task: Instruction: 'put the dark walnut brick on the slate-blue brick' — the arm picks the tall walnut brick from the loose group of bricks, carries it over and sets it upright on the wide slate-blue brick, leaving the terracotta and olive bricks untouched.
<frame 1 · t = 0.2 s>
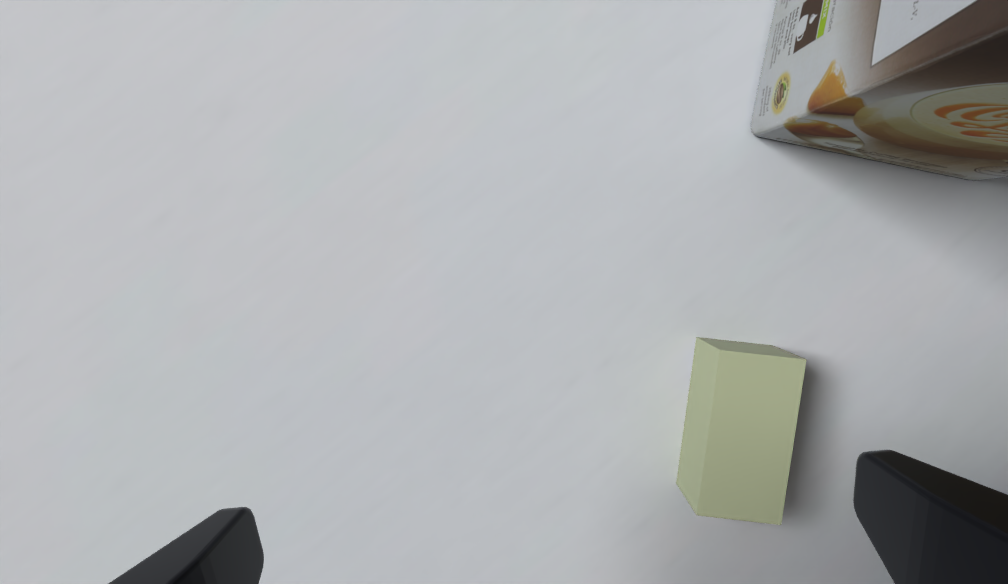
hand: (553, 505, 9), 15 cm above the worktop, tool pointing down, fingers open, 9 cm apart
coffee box: (878, 80, 23), on the worktop
olive brick: (722, 414, 24), on the worktop
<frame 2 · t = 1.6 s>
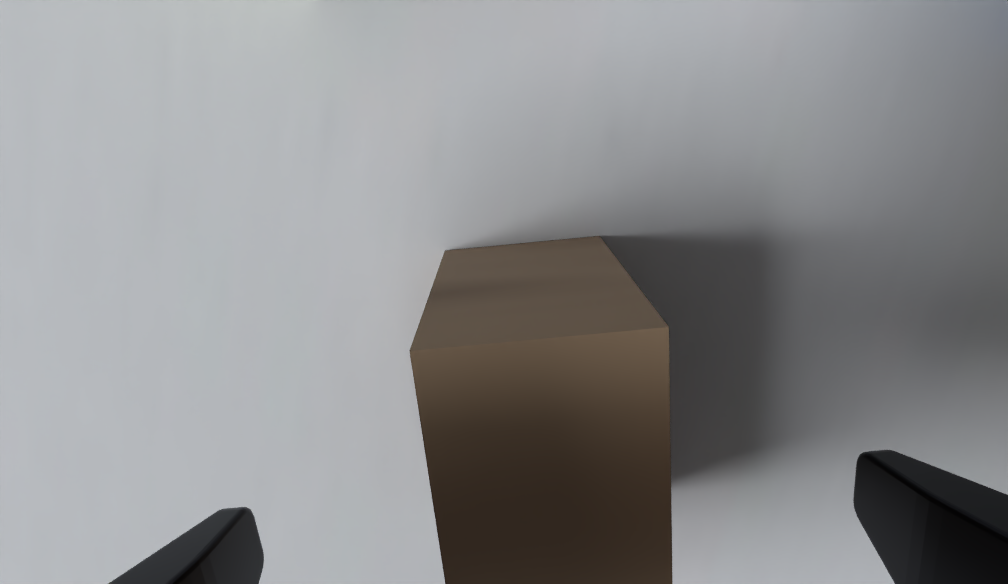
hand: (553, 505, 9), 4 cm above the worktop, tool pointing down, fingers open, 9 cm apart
walnut brick: (534, 382, 13), on the worktop
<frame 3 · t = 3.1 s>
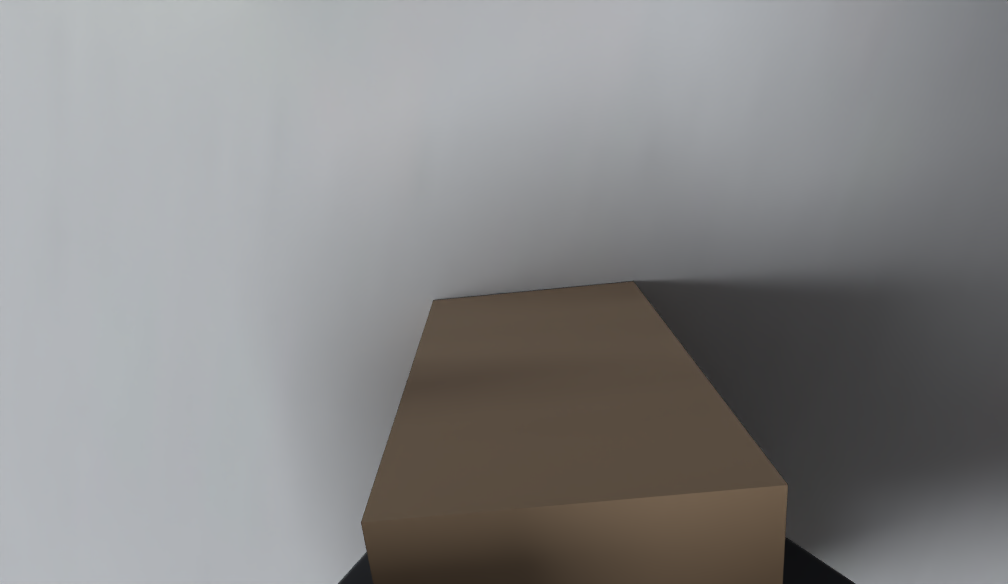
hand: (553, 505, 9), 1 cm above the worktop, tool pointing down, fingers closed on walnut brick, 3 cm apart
walnut brick: (547, 464, 10), on the worktop, touching gripper
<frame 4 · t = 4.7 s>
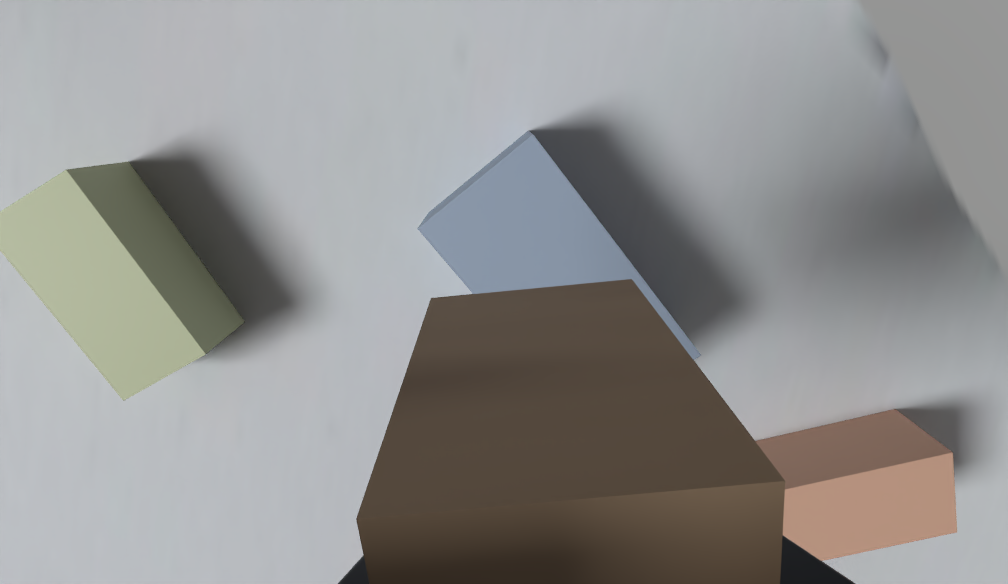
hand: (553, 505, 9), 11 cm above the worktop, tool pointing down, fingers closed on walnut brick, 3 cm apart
terracotta brick: (812, 461, 22), on the worktop
walnut brick: (546, 462, 10), point 10 cm above the worktop, touching gripper
slate brick: (554, 267, 20), on the worktop
olive brick: (154, 265, 20), on the worktop
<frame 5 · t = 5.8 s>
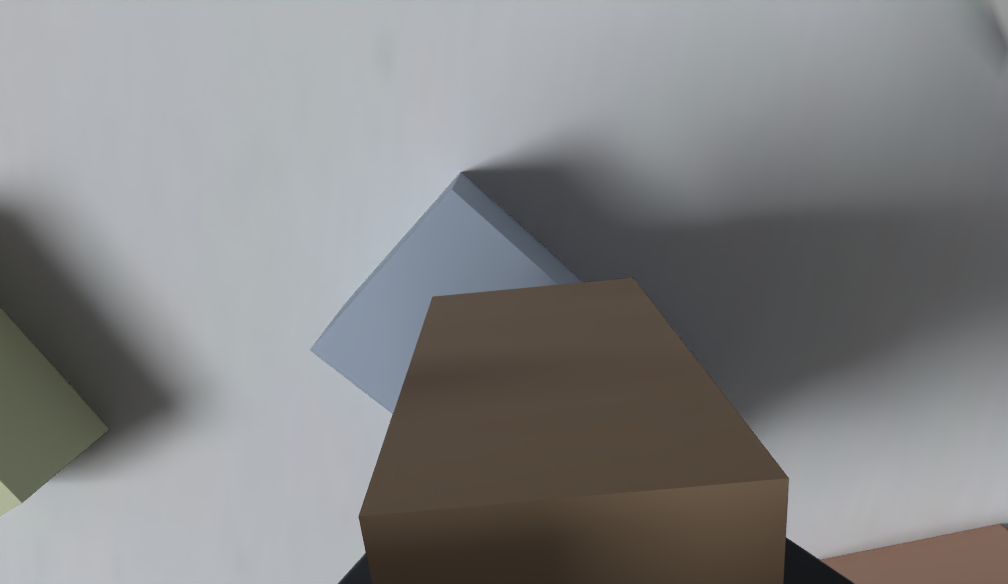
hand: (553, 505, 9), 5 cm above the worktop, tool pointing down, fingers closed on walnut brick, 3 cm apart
walnut brick: (547, 461, 10), point 4 cm above the worktop, touching gripper
slate brick: (532, 347, 14), on the worktop
when the fingers open (5 cm above the worktop, at t = 6.5 s): walnut brick drops 1 cm, resting on slate brick.
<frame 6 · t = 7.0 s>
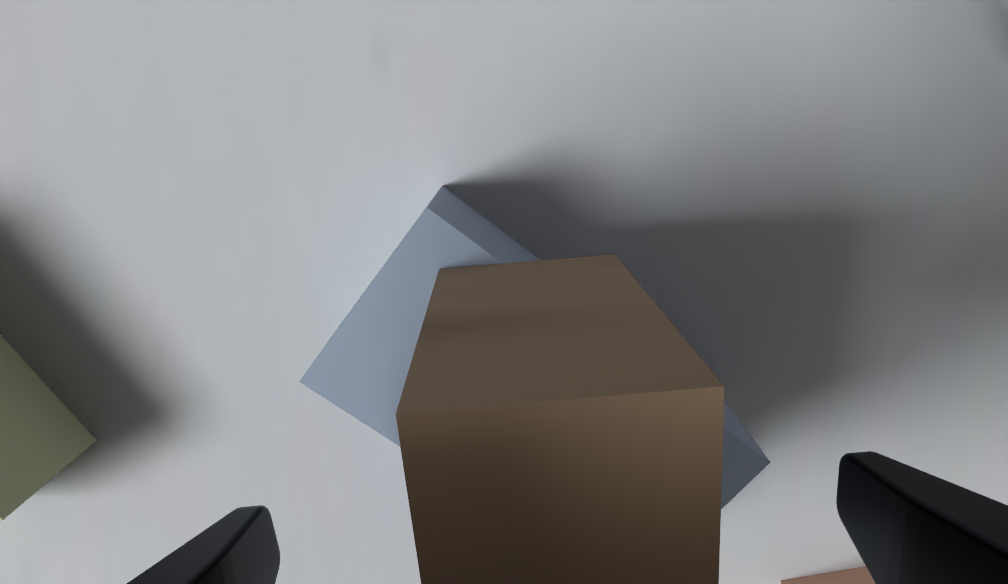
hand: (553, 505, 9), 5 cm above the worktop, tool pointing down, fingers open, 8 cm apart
walnut brick: (538, 417, 11), point 3 cm above the worktop, touching slate brick
slate brick: (532, 357, 14), on the worktop, touching walnut brick
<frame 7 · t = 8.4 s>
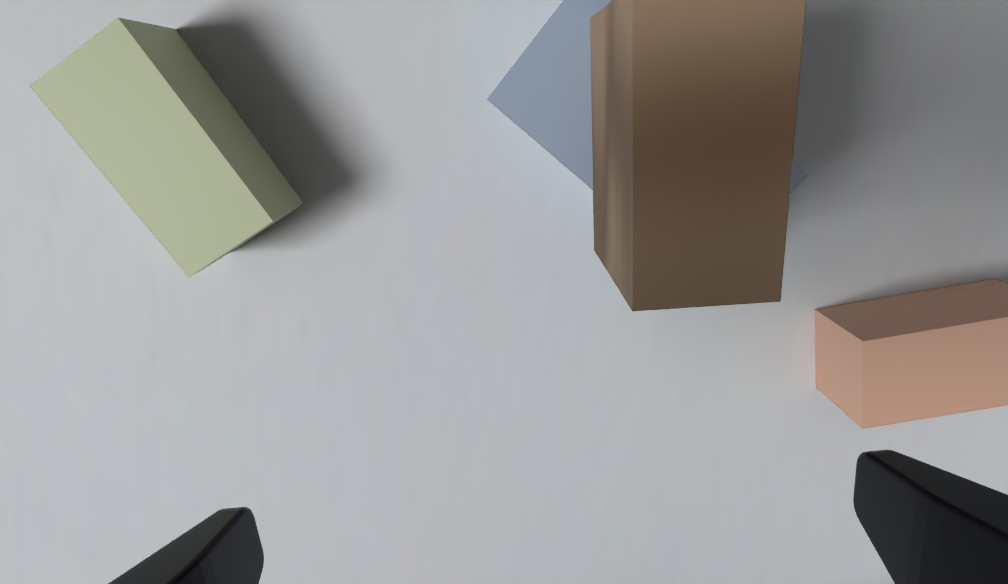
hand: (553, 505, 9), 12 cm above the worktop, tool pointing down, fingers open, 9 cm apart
terracotta brick: (898, 332, 21), on the worktop
walnut brick: (648, 137, 16), point 3 cm above the worktop, touching slate brick
slate brick: (627, 131, 19), on the worktop, touching walnut brick
olive brick: (207, 146, 19), on the worktop
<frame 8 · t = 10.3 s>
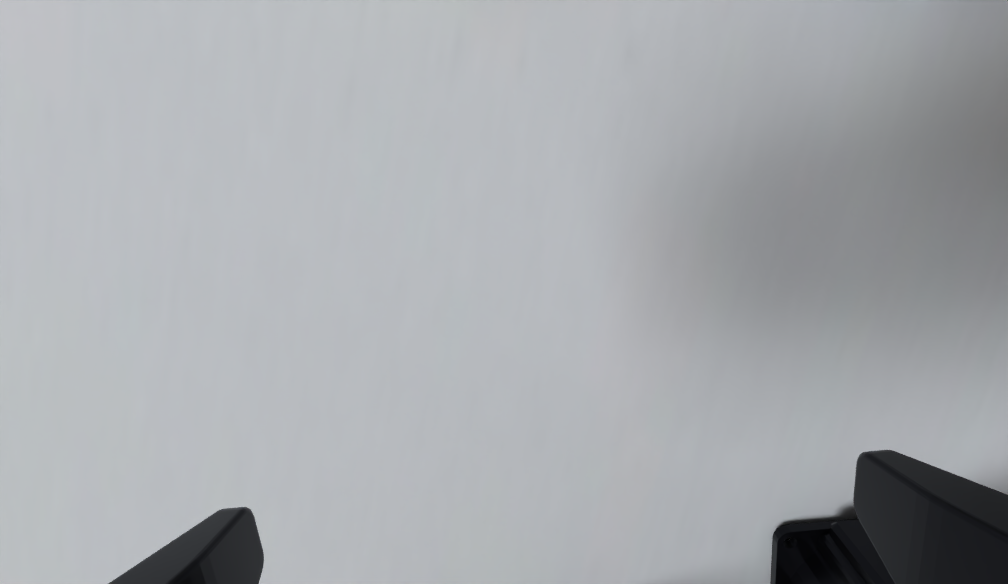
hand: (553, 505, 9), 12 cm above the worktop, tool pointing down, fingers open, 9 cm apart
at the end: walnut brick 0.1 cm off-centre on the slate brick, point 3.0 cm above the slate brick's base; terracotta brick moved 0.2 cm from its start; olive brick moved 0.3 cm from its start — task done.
